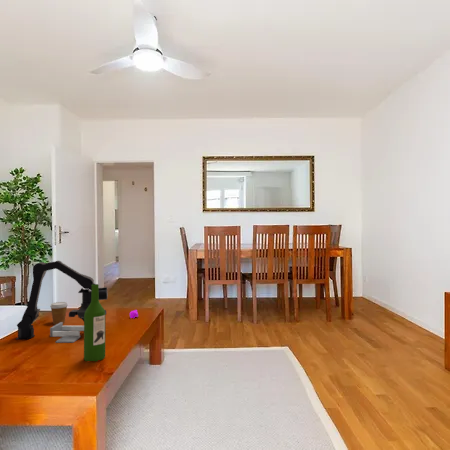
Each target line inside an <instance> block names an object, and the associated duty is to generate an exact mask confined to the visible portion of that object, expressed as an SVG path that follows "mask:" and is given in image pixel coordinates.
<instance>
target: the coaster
mask: <svg viewBox="0 0 450 450" xmlns="http://www.w3.org/2000/svg"><path fill="white" fill-rule="evenodd" d="M81 338H82V335H80V336H63V337H60V338H59V339H57V340H56V341H55V343H56V344H57V343H59V344H60V343H62V344H63V343H67V344H69V343H75V342H76V341H77V340H79V339H81Z"/></svg>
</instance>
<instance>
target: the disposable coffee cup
mask: <svg viewBox="0 0 450 450" xmlns="http://www.w3.org/2000/svg"><path fill="white" fill-rule="evenodd" d="M67 308H68V302H67V301H56V302H51V304H50V310H51V316H52V317H51V318H52V324H53V325H54V326H55V325H56V324H58V323H60V322H63V324H65V323H66V315H67V314H66V313H67Z"/></svg>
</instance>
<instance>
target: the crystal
mask: <svg viewBox="0 0 450 450" xmlns="http://www.w3.org/2000/svg"><path fill="white" fill-rule="evenodd" d="M135 317H137V318H138V317H139V313H138V310H137V309H134V310H131V311H130V312H129V318H130V319H131V318H133V319H136V318H135Z"/></svg>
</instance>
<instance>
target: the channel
mask: <svg viewBox="0 0 450 450" xmlns="http://www.w3.org/2000/svg"><path fill="white" fill-rule="evenodd" d="M63 324H64V323H63V322H60V323H58V324H56V325H55V324H54V325H53V326H52V327H50V328H49V330H50V331H49V337H56V338H57V337H60V338H62V337H63V336H81V334H80V333H81V332H84V325H63Z"/></svg>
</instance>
